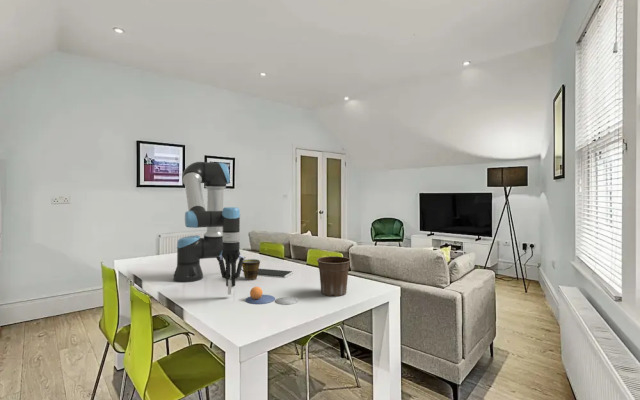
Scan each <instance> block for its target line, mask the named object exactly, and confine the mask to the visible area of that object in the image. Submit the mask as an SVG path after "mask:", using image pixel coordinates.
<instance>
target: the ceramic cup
mask: <svg viewBox="0 0 640 400" xmlns="http://www.w3.org/2000/svg"><path fill="white" fill-rule="evenodd" d="M260 264H261V260H260V259H255V258H252V259H251V258H250V259H249V258H248V259H245V260H244V261H243V264H242V268H241V272H243V276H244V280H245V281H255V280H257V279H258V276H257V274H258V269H260Z"/></svg>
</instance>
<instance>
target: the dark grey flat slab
mask: <svg viewBox="0 0 640 400" xmlns="http://www.w3.org/2000/svg"><path fill="white" fill-rule="evenodd" d="M294 274H295V272H294V271H290V270H280V269H279V270H278V269H269V268H259V269H258V274H257V277H258V276H259V277H267V278H268V277H269V278H280V279H287V278H289V277H291V276H292V275H294Z"/></svg>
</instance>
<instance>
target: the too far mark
mask: <svg viewBox="0 0 640 400" xmlns="http://www.w3.org/2000/svg"><path fill="white" fill-rule="evenodd" d="M274 302H275V303H276V304H278V305H285V306H286V305H287V306H288V305H293V304H297V303H298V302H299V299H298V298H296V297H292V296H283V297H279V298H275V300H274Z"/></svg>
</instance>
